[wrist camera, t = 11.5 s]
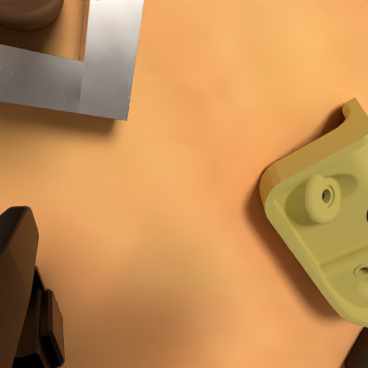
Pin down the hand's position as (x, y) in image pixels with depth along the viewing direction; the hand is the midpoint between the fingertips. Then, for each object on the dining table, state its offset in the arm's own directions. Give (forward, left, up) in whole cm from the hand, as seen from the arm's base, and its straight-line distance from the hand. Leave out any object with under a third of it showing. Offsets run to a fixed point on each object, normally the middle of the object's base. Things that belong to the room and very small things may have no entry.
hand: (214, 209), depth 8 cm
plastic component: (+17, -12, -14) cm, 26 cm away
